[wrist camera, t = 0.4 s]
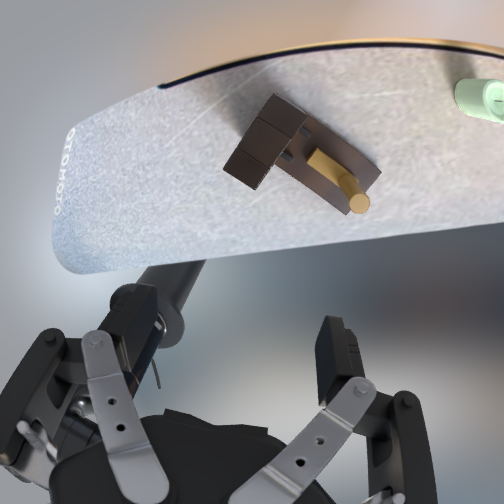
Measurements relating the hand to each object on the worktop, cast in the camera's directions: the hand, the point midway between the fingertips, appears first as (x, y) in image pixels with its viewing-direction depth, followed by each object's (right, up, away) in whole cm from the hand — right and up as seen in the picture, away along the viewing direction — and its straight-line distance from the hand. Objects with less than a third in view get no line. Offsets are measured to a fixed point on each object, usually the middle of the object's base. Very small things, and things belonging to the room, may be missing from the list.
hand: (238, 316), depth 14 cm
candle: (+28, +23, +12) cm, 38 cm away
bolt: (+10, +12, +18) cm, 24 cm away
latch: (+8, +15, +20) cm, 26 cm away
